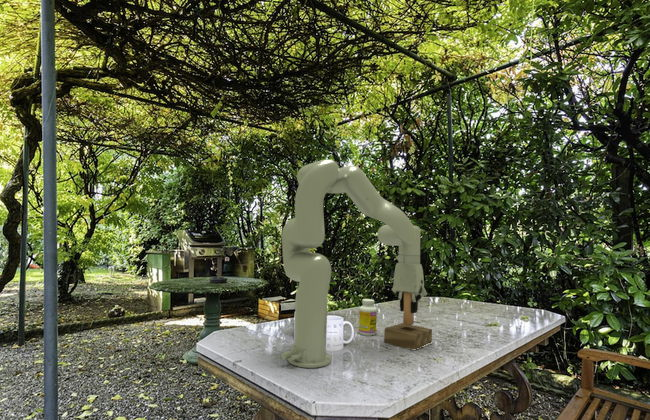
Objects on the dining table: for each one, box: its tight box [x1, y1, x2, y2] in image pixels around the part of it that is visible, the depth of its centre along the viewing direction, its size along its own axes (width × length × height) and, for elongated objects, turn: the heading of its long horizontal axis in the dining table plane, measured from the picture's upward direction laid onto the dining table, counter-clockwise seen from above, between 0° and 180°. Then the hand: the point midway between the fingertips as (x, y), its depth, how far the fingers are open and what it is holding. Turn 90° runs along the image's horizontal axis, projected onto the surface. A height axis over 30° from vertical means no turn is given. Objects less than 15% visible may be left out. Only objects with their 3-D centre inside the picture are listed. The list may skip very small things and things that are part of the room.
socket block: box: [383, 322, 433, 350], centre depth 129 cm, size 12×12×5 cm
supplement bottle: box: [358, 298, 378, 337], centre depth 140 cm, size 7×7×13 cm
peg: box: [402, 292, 415, 325], centre depth 130 cm, size 4×4×12 cm
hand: (408, 311), depth 130 cm, fingers closed on peg, 3 cm apart
